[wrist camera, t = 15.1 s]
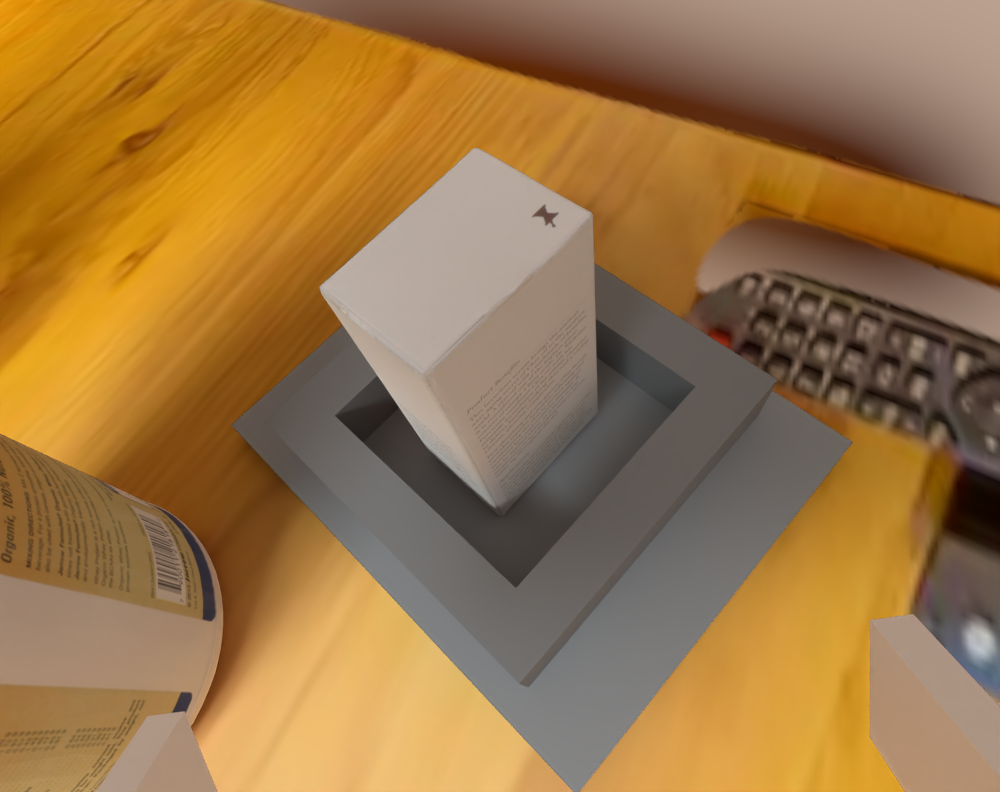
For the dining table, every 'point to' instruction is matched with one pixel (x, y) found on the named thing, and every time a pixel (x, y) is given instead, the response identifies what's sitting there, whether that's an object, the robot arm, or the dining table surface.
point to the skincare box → (481, 322)
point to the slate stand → (562, 518)
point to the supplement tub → (93, 622)
